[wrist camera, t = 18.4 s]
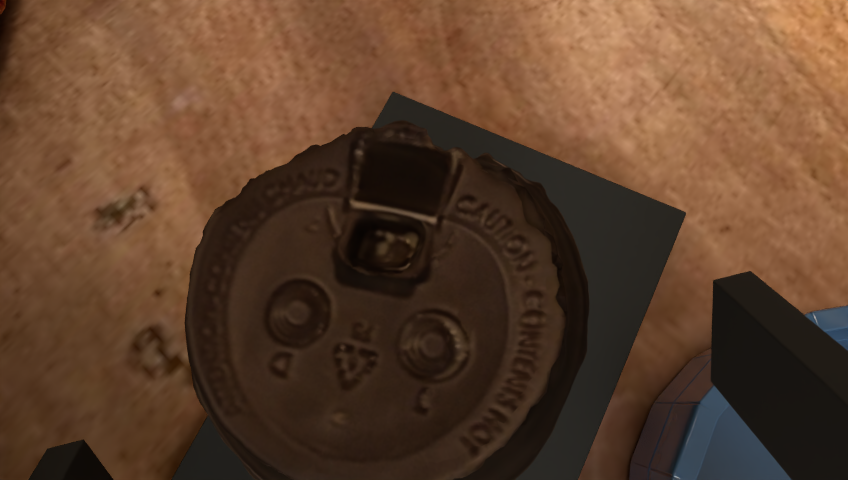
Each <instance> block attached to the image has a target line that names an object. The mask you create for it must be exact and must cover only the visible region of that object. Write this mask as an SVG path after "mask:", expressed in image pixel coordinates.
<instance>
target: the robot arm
mask: <svg viewBox="0 0 848 480" xmlns="http://www.w3.org/2000/svg"><path fill="white" fill-rule="evenodd" d="M711 382H712V383H713V385H714V386H715V387H716V388H717V390H718V391H719V392H720V393H721V394H722V396H723V397H724V398H725V399H726V400H727V402H728V403H729V404H730V405H731V407H732V408H733V409H734V410H735V411H736V413H737V414H738V415H739V416H740V418H741V419H742V420H743V421H744V422H745V424H746V425H747V426H748V427H749V428H750V430H751V431H752V432H753V433H754V435H755V436H756V437H757V438H758V439H759V441H760V442H761V443H762V444H763V445H764V447H765V448H766V449H767V450H768V452H769V453H770V454H771V455H772V456H773V458H774V459H775V460H776V461H777V463H778V464H779V465H780V466H781V467H782V469H783V470H784V471H785V472H786V473H787V475H788V476H789V477H790V478H791V480H848V350H846V349H845V348H844V347H843V346H842V345H840V344H839V343H838V342H837V341H835V340H834V339H833V338H832V337H831V336H829V335H828V334H827V333H826V332H824V331H823V330H822V329H821V328H820V327H818V326H817V325H816V324H815V323H813V322H812V321H811V320H810V319H809V318H807V317H806V316H805V315H804V314H802V313H801V312H800V311H799V310H797V309H796V308H795V307H794V306H793V305H791V304H790V303H789V302H788V301H786V300H785V299H784V298H783V297H782V296H780V295H779V294H778V293H777V292H775V291H774V290H773V289H772V288H771V287H769V286H768V285H767V284H766V283H764V282H763V281H762V280H761V279H760V278H758V277H757V276H756V275H755V274H753V273H752V272H751V271H748V272H744V273H740V274H736V275H732V276H728V277H724V278H720V279H716V280H713V308H712V346H711ZM29 480H113V478H112V477H111V476H110V474H109V473H108V472H107V470H106V469H105V468H104V466H103V465H102V463H101V462H100V461H99V459H98V458H97V457H96V455H95V454H94V453H93V451H92V450H91V449H90V447H89V446H88V444H87V443H86V442H85V440H80V441H76V442H72V443H68V444H64V445H60V446H56V447H52V448H48V449H47V450H46V452H45V453H44V455H43V457H42V458H41V460H40V462H39V463H38V465H37V467H36V468H35V470H34V471H33V473H32V475H31V476H30V478H29Z"/></svg>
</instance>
